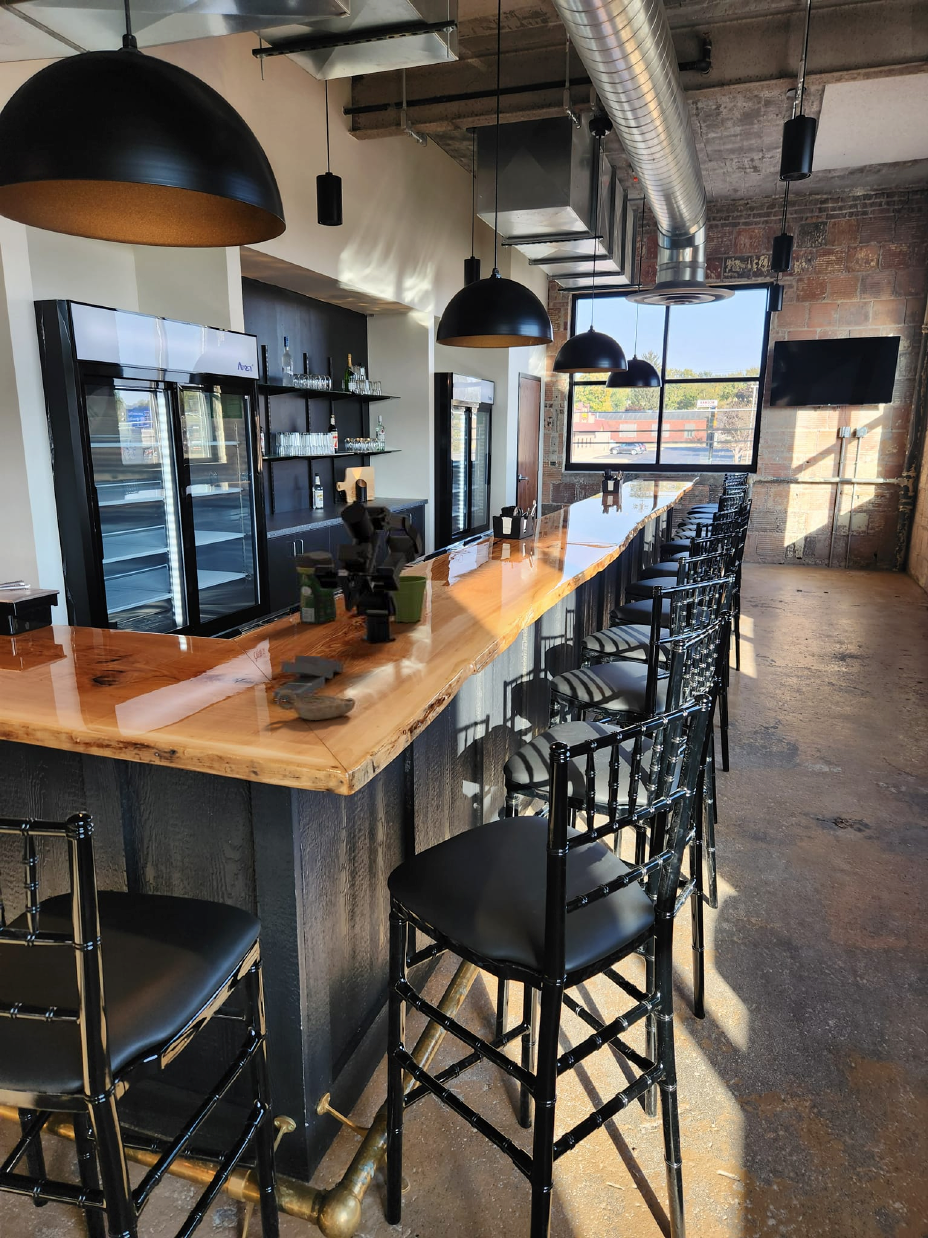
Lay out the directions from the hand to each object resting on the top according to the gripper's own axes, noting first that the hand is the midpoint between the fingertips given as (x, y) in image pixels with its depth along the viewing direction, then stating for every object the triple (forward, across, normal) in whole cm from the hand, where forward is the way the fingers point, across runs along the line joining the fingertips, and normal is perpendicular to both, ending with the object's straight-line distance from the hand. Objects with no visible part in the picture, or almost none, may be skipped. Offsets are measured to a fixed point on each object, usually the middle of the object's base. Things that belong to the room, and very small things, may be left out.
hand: (347, 610), depth 169 cm
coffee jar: (-17, -23, +33) cm, 44 cm away
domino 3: (+14, 0, 0) cm, 14 cm away
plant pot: (-21, 0, +37) cm, 42 cm away
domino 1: (+17, 0, -4) cm, 18 cm away
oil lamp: (+34, +9, -18) cm, 39 cm away
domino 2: (+20, 0, -6) cm, 22 cm away
